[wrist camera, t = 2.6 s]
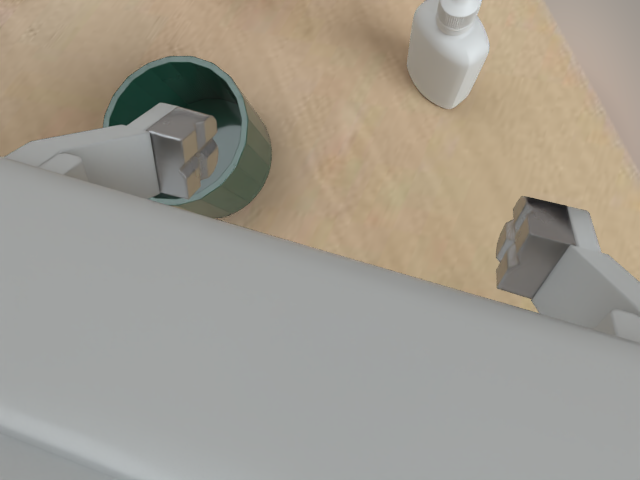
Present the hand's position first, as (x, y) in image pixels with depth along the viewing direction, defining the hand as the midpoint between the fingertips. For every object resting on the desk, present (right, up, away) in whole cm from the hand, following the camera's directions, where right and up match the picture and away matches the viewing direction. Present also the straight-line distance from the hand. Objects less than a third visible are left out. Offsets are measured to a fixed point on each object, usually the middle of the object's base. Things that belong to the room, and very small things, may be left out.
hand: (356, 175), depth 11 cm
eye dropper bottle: (+9, +11, +24) cm, 28 cm away
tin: (-11, +6, +26) cm, 29 cm away
